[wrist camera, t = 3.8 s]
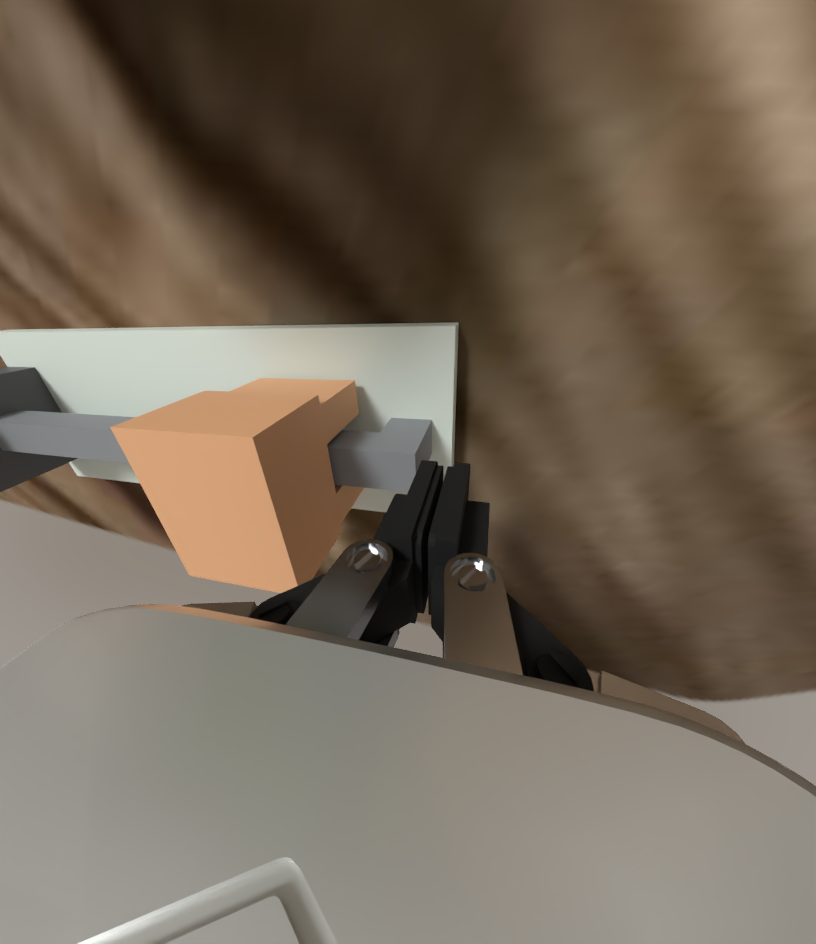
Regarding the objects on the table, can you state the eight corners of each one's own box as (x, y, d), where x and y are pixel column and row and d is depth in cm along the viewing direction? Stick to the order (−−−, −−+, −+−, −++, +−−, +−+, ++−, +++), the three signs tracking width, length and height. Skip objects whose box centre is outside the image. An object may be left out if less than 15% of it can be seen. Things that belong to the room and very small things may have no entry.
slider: (353, 371, 15) (252, 437, 9) (368, 489, 18) (301, 596, 12) (258, 369, 16) (110, 427, 10) (287, 480, 19) (189, 575, 13)
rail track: (458, 322, 14) (425, 358, 8) (452, 507, 19) (428, 617, 13) (10, 329, 21) (-203, 353, 14) (93, 468, 26) (-38, 529, 19)
